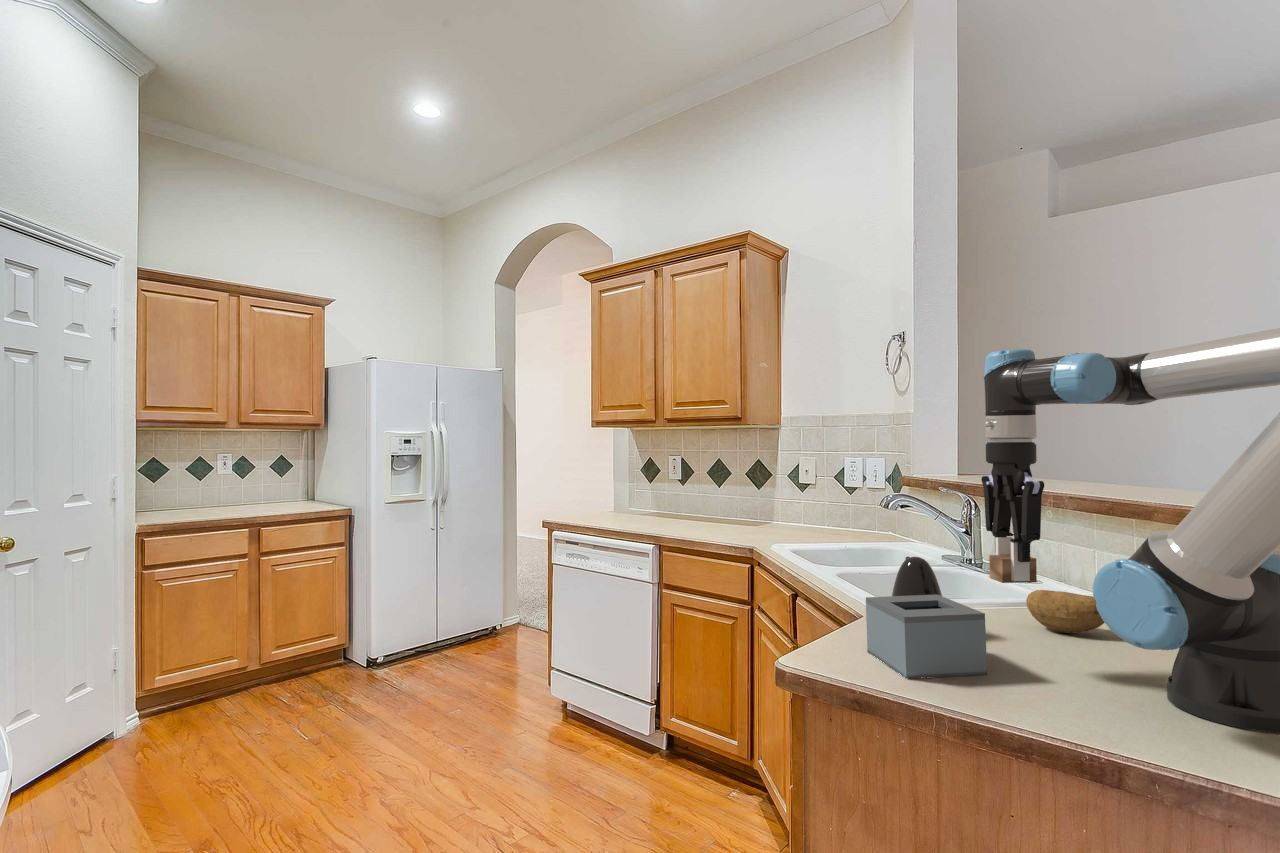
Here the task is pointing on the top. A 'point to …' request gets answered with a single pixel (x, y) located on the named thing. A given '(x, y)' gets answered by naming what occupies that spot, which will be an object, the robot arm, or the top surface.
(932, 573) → the black dome cover
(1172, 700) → the robot arm
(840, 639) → the top surface
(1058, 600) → the potato
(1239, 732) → the top surface
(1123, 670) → the top surface
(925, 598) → the box
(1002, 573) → the block
